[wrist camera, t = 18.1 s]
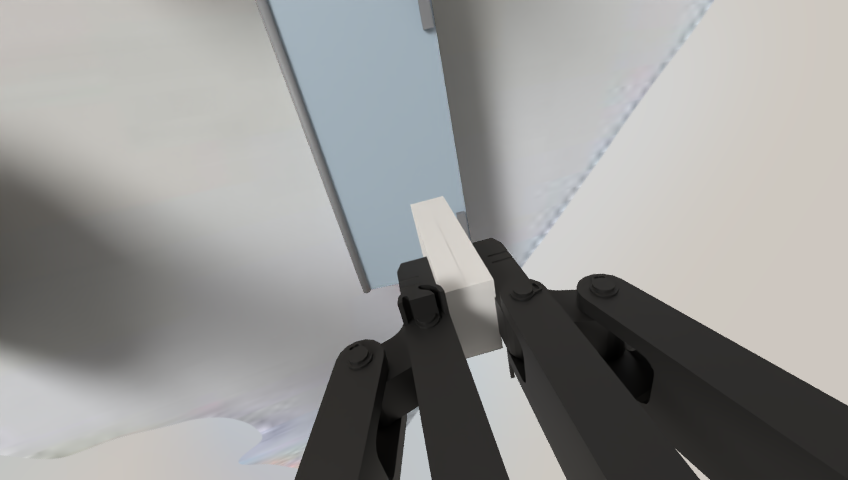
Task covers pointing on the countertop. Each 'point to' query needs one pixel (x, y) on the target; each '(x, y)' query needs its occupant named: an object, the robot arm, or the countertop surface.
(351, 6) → the cover
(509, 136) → the countertop surface
